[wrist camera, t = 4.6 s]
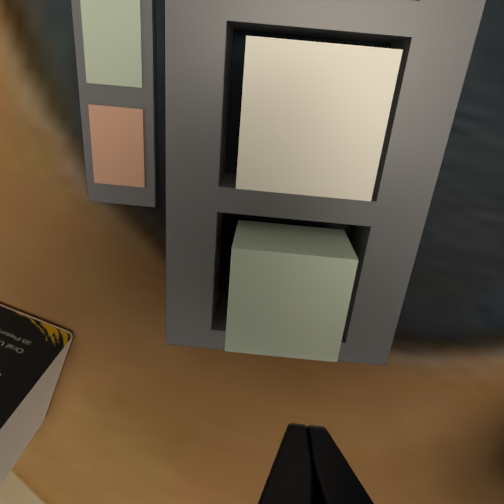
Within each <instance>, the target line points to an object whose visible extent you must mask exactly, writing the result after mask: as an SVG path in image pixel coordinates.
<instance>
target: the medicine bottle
mask: <svg viewBox="0 0 504 504" xmlns="http://www.w3.org/2000/svg"><path fill="white" fill-rule="evenodd" d="M72 338H73V335H72V333H71V332H69V331H68V330H65V329H63V328H60V327H58V326H55V325H52V324H50V323H47V322H45V321H42V320H40V319H37V318H35V317H32V316H30V315H27V314H25V313H22V312H20V311H17V310H15V309H12V308H10V307H7V306H5V305H2V304H0V486H1V484H2V483H3V481H4V480H5V478H6V477H7V475H8V473H9V472H10V471H11V469H12V468H13V466H14V465H15V463H16V462H17V460H18V459H19V457H20V456H21V454H22V453H23V451H24V450H25V448H26V447H27V445H28V444H29V442H30V441H31V439H32V438H33V436H34V435H35V433H36V432H37V430H38V429H39V427H40V426H41V424H42V423H43V421H44V419H45V416H46V413H47V410H48V407H49V404H50V402H51V399H52V396H53V393H54V390H55V387H56V384H57V381H58V379H59V376H60V373H61V370H62V367H63V364H64V361H65V358H66V356H67V353H68V350H69V347H70V344H71V341H72Z"/></svg>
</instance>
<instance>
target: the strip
mask: <svg viewBox="0 0 504 504" xmlns="http://www.w3.org/2000/svg"><path fill="white" fill-rule="evenodd" d="M71 3H72V15H73V27H74V39H75V51H76V62H77V74H78V86H79V98H80V110H81V121H82V133H83V145H84V157H85V168H86V180H87V192H88V201H94V202H104V203H115V204H125V205H136V206H147V207H156V206H157V126H156V46H155V0H71Z"/></svg>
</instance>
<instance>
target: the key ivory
mask: <svg viewBox="0 0 504 504" xmlns="http://www.w3.org/2000/svg"><path fill="white" fill-rule="evenodd" d="M402 52H403V50H402V49H391V48H380V47H368V46H357V45H346V44H335V43H324V42H313V41H302V40H291V39H280V38H269V37H258V36H247V35H246V45H245V60H244V74H243V89H242V103H241V118H240V133H239V147H238V162H237V176H236V189H244V190H255V191H265V192H276V193H287V194H297V195H308V196H319V197H329V198H340V199H351V200H361V201H371V199H372V194H373V189H374V185H375V180H376V175H377V170H378V166H379V161H380V156H381V151H382V147H383V142H384V137H385V133H386V128H387V123H388V118H389V114H390V109H391V104H392V99H393V95H394V90H395V85H396V80H397V76H398V71H399V66H400V61H401V57H402Z"/></svg>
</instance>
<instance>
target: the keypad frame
mask: <svg viewBox="0 0 504 504" xmlns="http://www.w3.org/2000/svg"><path fill="white" fill-rule="evenodd" d="M485 2H486V0H165V106H166V344H171V345H181V346H191V347H201V348H212V349H222V350H225V337H226V322H227V308H228V302H221V301H218V293H219V275H220V258H221V240H222V223H223V213H232V214H243V215H254V216H264V217H275V218H285V219H296V220H307V221H317V222H328V223H339V224H349V225H355V226H354V231H353V236H352V241H351V245H352V247H353V249H354V252H355V254H356V256H357V258H358V265H357V270H356V275H355V279H354V284H353V289H352V294H351V298H350V303H349V308H348V313H347V317H346V322H345V327H344V332H343V336H342V341H341V346H340V351H339V355H338V360H337V361H345V362H356V363H366V364H376V365H386V363H387V360H388V356H389V353H390V349H391V345H392V342H393V338H394V334H395V331H396V327H397V323H398V320H399V316H400V312H401V309H402V305H403V301H404V298H405V294H406V290H407V287H408V283H409V279H410V276H411V272H412V269H413V265H414V261H415V258H416V254H417V250H418V247H419V243H420V239H421V236H422V232H423V228H424V225H425V221H426V217H427V214H428V210H429V206H430V203H431V199H432V195H433V192H434V188H435V184H436V181H437V177H438V174H439V170H440V166H441V163H442V159H443V155H444V152H445V148H446V144H447V141H448V137H449V133H450V130H451V126H452V122H453V119H454V115H455V111H456V108H457V104H458V100H459V97H460V93H461V90H462V86H463V82H464V79H465V75H466V71H467V68H468V64H469V60H470V57H471V53H472V49H473V46H474V42H475V38H476V35H477V31H478V27H479V24H480V20H481V16H482V13H483V9H484V5H485ZM233 29H236V30H247V31H258V32H269V33H280V34H291V35H303V36H314V37H325V38H336V39H347V40H358V41H369V42H380V43H391V45H390V48H391V49H402V50H403V52H402V57H401V61H400V66H399V71H398V76H397V80H396V85H395V90H394V95H393V99H392V104H391V109H390V114H389V118H388V123H387V128H386V133H385V137H384V142H383V147H382V151H381V156H380V161H379V166H378V170H377V175H376V180H375V185H374V189H373V194H372V199H371V201H361V200H351V199H340V198H329V197H319V196H308V195H297V194H287V193H276V192H265V191H255V190H244V189H236V176H237V174H235V173H225V170H226V152H227V135H228V117H229V99H230V82H231V64H232V47H233Z"/></svg>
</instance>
